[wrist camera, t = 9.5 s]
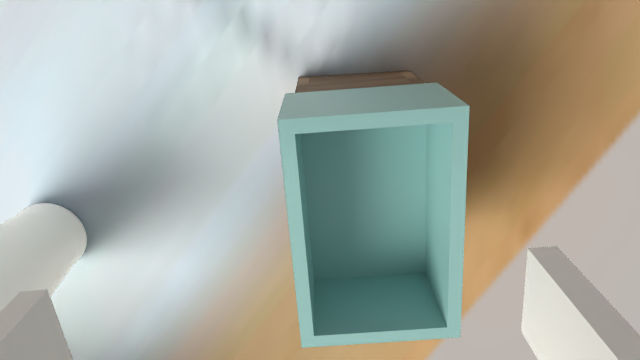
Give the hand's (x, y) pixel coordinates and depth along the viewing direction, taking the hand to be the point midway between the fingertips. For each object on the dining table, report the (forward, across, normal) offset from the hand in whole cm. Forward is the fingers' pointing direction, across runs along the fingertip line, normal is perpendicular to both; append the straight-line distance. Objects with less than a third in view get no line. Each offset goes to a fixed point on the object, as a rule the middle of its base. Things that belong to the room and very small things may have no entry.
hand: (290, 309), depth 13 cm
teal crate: (+17, +3, -3) cm, 17 cm away
